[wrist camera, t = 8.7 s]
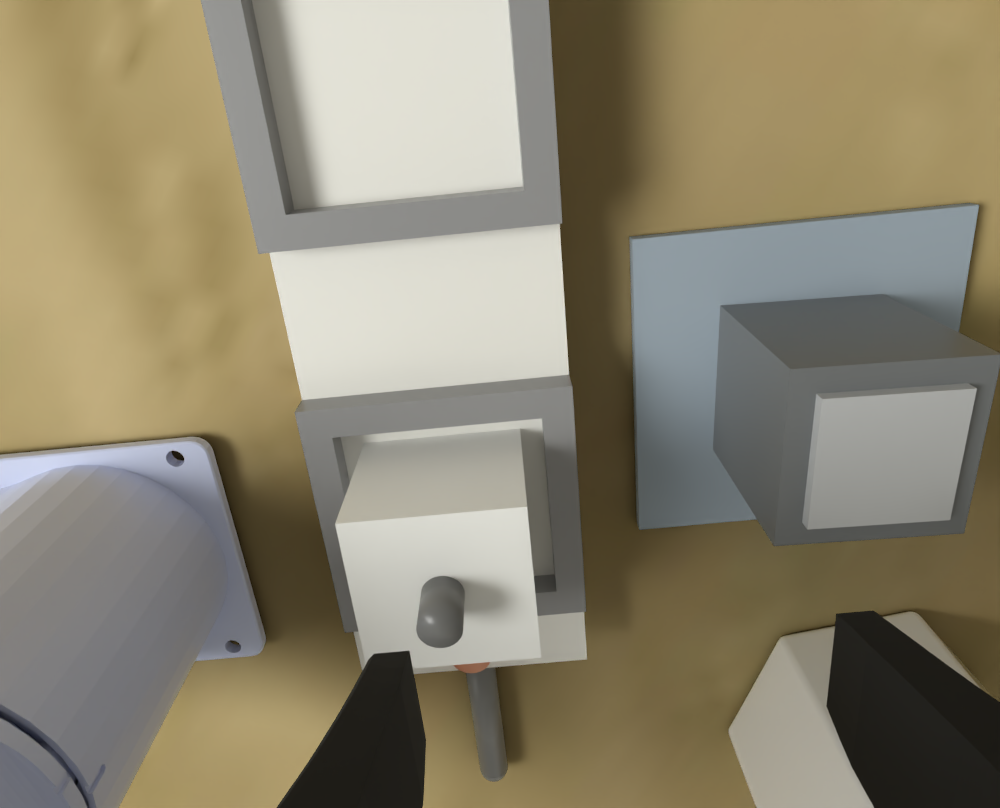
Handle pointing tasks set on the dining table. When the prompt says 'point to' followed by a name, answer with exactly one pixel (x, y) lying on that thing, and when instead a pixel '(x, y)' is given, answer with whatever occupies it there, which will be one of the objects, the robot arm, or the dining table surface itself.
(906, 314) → the block
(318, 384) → the power strip
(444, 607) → the white plug
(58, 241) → the dining table surface
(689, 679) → the dining table surface
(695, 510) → the mat
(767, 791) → the jar
